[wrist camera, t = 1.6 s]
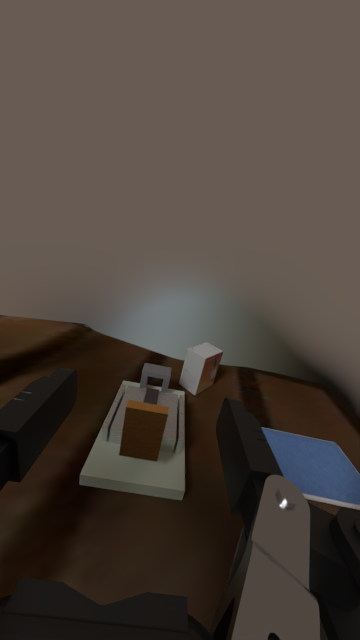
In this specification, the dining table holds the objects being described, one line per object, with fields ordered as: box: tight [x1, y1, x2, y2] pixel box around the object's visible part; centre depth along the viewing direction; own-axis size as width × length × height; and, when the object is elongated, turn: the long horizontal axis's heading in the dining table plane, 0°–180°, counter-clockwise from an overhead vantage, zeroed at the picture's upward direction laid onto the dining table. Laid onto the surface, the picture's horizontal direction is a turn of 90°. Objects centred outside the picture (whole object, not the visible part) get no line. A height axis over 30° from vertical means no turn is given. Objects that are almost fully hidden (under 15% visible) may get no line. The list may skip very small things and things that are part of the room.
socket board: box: [79, 363, 185, 501], centre depth 35 cm, size 20×14×8 cm
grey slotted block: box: [101, 384, 184, 454], centre depth 35 cm, size 10×12×3 cm
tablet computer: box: [261, 427, 360, 510], centre depth 37 cm, size 19×13×1 cm, turn 86°
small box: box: [179, 342, 223, 396], centre depth 51 cm, size 8×6×10 cm
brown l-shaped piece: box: [119, 388, 169, 462], centre depth 31 cm, size 13×5×8 cm, turn 179°
